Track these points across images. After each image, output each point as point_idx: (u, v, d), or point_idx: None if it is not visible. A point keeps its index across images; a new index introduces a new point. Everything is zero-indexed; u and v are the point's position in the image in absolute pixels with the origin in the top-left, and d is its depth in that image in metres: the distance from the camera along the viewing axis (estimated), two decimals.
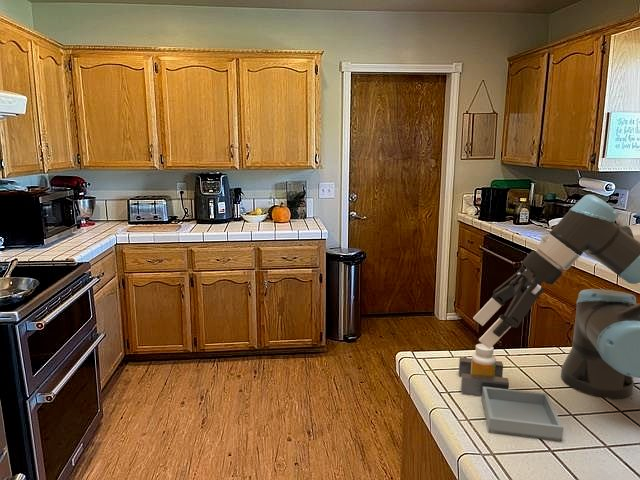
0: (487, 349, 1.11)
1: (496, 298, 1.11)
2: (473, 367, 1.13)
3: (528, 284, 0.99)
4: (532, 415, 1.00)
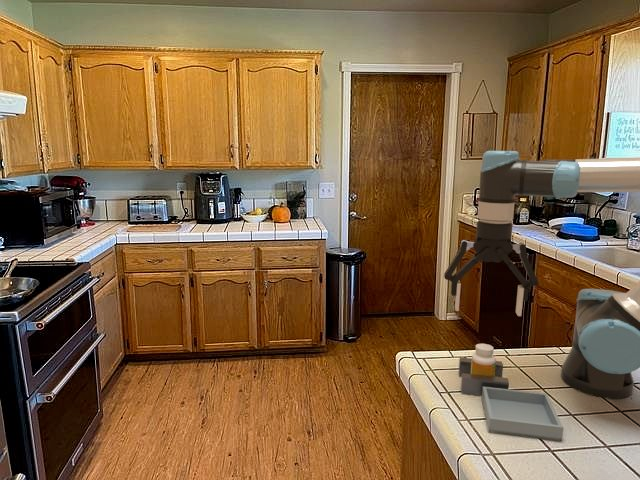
0: (487, 349, 1.11)
1: (522, 284, 1.09)
2: (473, 367, 1.13)
3: None
4: (532, 415, 1.00)
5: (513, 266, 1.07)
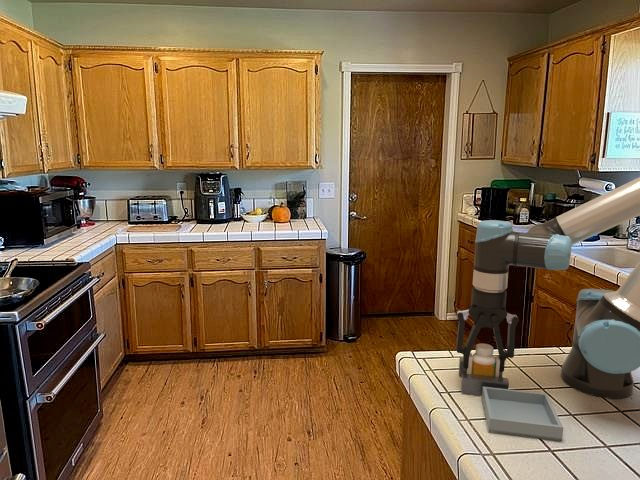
0: (487, 349, 1.11)
1: (499, 353, 1.13)
2: (473, 367, 1.13)
3: None
4: (532, 415, 1.00)
5: (499, 336, 1.10)
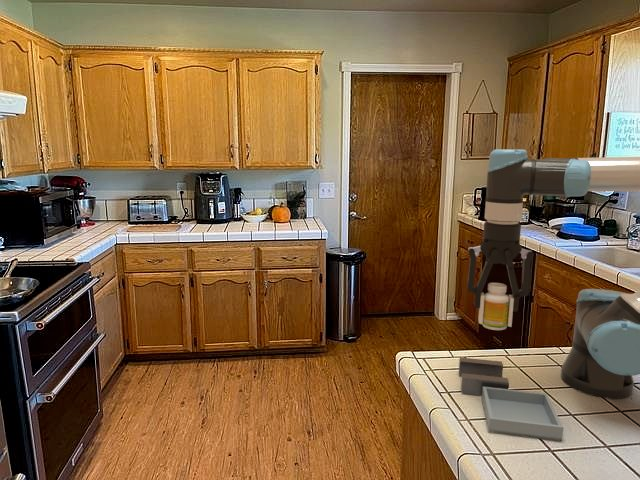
0: (500, 287, 1.05)
1: (512, 292, 1.07)
2: (485, 306, 1.07)
3: None
4: (532, 415, 1.00)
5: (513, 272, 1.04)
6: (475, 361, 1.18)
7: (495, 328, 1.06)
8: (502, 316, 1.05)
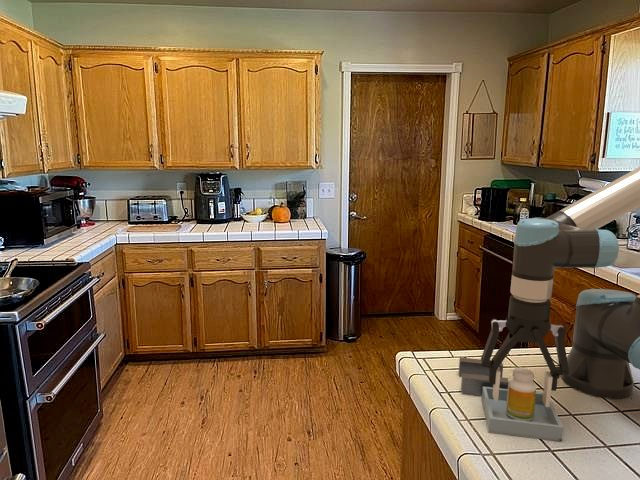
0: (527, 374, 0.97)
1: (550, 370, 0.97)
2: (510, 395, 0.99)
3: None
4: None
5: (546, 351, 0.95)
6: (475, 361, 1.18)
7: (522, 419, 0.97)
8: (529, 406, 0.97)
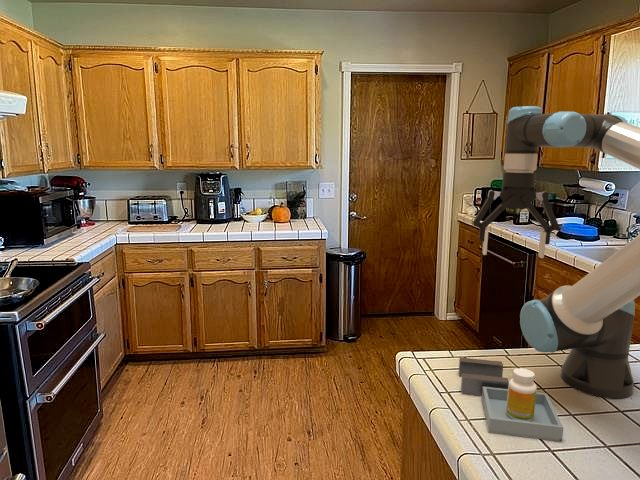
0: (527, 375, 0.97)
1: (544, 229, 1.20)
2: (510, 395, 0.99)
3: None
4: None
5: (536, 212, 1.18)
6: (475, 361, 1.18)
7: (521, 420, 0.98)
8: (529, 407, 0.97)
